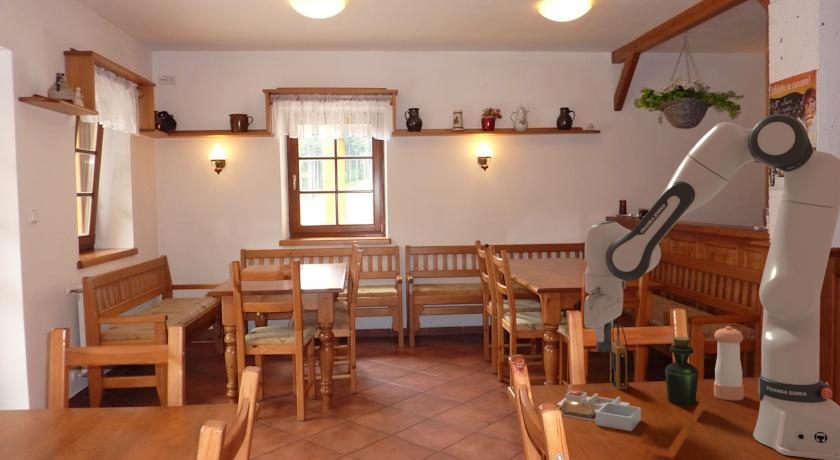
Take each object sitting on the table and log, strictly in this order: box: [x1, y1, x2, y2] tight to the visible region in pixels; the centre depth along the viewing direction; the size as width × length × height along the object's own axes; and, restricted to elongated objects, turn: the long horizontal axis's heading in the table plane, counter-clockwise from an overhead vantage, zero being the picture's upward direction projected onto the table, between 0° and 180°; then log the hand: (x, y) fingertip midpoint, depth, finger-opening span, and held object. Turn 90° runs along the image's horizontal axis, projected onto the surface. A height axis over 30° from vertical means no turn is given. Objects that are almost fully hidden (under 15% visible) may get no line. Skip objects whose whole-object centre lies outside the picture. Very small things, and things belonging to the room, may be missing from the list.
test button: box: [570, 389, 583, 396], centre depth 167 cm, size 3×3×2 cm
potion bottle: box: [664, 336, 699, 407], centre depth 164 cm, size 8×8×18 cm
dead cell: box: [595, 322, 613, 353], centre depth 162 cm, size 4×4×8 cm
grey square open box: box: [595, 402, 642, 432], centre depth 151 cm, size 8×8×4 cm
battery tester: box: [556, 390, 631, 411], centre depth 164 cm, size 16×10×4 cm, turn 56°
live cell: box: [561, 400, 596, 419], centre depth 157 cm, size 8×4×4 cm, turn 56°
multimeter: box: [607, 318, 630, 393], centre depth 179 cm, size 15×10×20 cm
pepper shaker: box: [713, 325, 745, 401], centre depth 172 cm, size 7×7×19 cm
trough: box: [558, 405, 596, 423], centre depth 157 cm, size 11×6×2 cm, turn 56°
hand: (604, 339), depth 162 cm, fingers closed on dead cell, 4 cm apart
